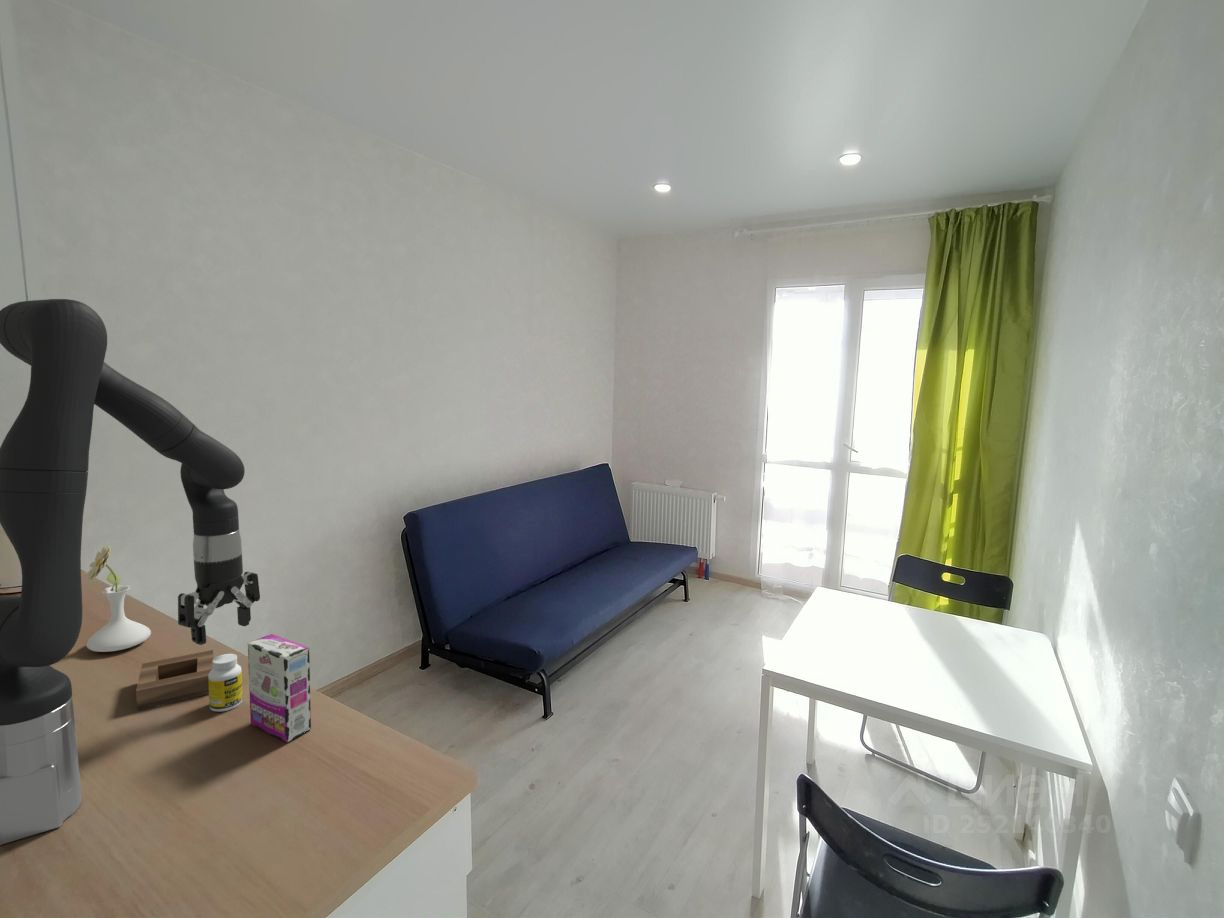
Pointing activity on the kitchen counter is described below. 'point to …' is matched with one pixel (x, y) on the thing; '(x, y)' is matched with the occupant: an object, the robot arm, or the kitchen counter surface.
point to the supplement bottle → (225, 683)
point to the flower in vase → (114, 613)
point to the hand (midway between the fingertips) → (222, 633)
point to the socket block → (173, 679)
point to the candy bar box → (279, 687)
